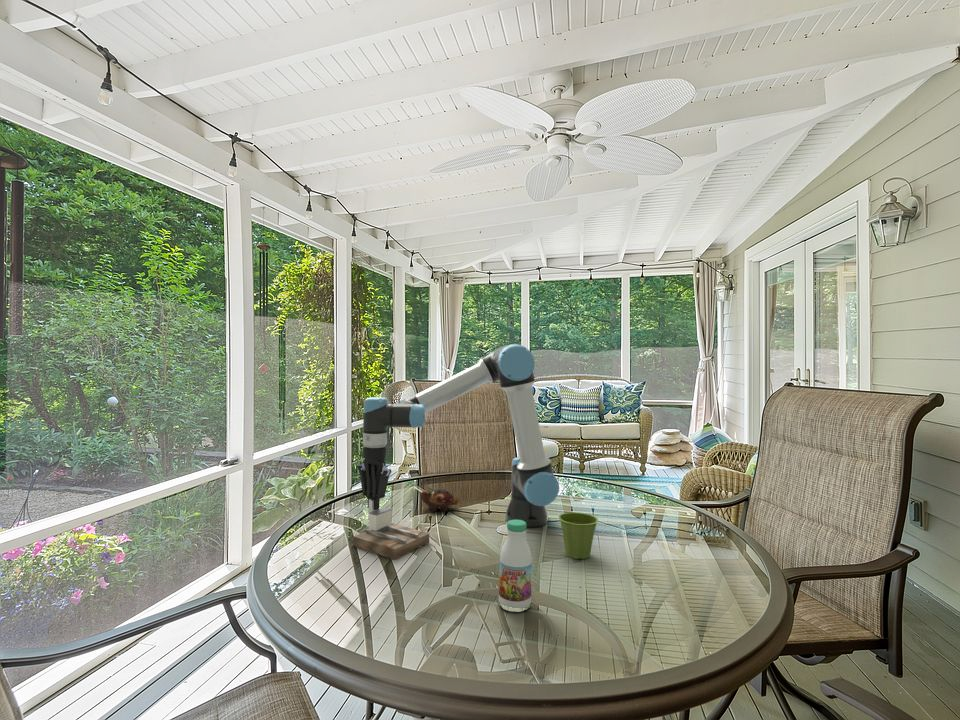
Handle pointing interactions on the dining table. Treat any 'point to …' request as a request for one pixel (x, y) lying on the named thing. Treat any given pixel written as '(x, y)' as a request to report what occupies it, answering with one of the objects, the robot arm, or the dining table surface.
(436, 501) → the decorative turtle
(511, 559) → the milk bottle
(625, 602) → the dining table surface
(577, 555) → the plant pot
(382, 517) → the fader knob
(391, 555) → the fader console
